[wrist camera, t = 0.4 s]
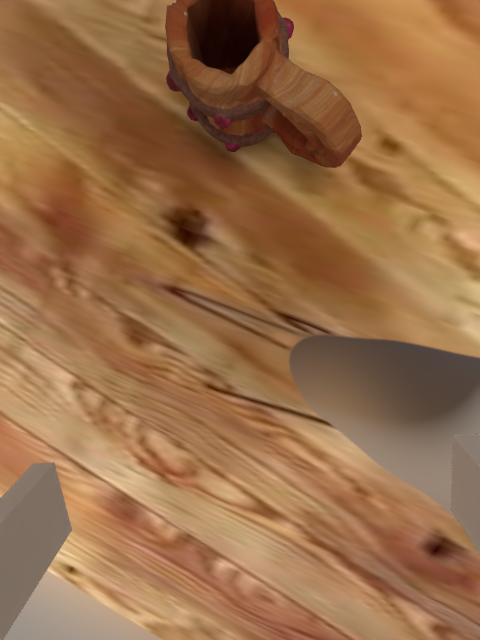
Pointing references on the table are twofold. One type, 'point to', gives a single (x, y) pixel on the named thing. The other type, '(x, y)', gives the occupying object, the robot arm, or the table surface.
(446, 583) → the table surface
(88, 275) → the table surface
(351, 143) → the mug
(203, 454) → the table surface
